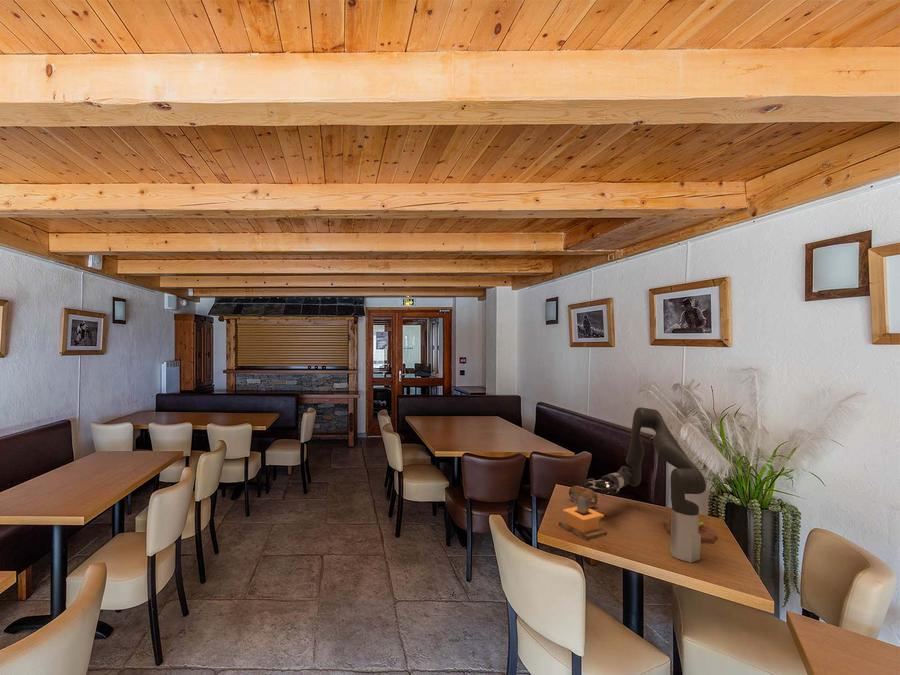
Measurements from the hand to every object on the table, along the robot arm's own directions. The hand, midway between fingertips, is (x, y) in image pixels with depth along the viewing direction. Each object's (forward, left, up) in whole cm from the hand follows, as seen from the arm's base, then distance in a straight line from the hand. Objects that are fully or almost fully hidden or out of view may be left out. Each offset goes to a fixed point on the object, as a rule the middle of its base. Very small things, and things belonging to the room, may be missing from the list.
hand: (593, 489), depth 190 cm
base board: (-1, +7, -16) cm, 18 cm away
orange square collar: (-1, +7, -14) cm, 16 cm away
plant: (-24, -34, -17) cm, 45 cm away
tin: (+20, -16, -16) cm, 30 cm away
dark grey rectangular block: (-1, +7, -14) cm, 16 cm away
